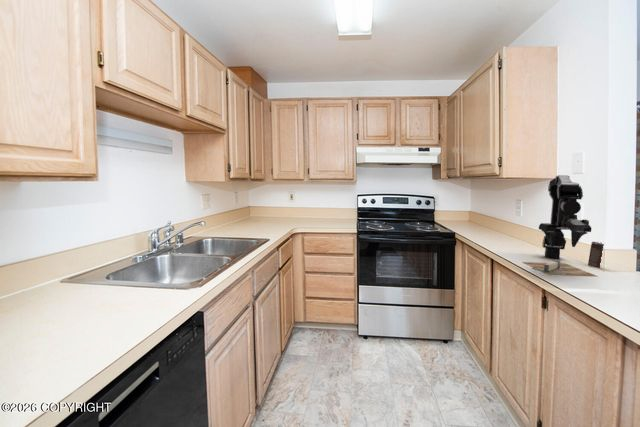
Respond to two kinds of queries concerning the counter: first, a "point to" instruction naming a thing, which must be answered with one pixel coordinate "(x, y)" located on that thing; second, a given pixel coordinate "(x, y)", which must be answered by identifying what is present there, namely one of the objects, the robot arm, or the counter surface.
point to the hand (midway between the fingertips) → (562, 246)
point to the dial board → (560, 269)
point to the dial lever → (552, 265)
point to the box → (595, 254)
